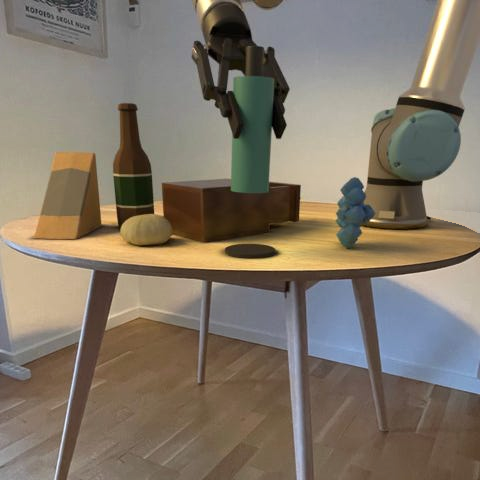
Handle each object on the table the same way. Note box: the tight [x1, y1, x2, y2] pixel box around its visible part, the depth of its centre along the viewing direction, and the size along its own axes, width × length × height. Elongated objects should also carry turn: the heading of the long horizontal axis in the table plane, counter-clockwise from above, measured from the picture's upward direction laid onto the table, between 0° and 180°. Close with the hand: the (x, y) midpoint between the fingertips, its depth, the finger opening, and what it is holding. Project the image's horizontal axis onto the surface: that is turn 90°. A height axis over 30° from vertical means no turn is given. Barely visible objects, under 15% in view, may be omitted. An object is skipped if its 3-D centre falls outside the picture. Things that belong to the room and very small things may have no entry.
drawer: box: [269, 181, 302, 225], centre depth 101 cm, size 20×12×8 cm, turn 131°
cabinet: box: [161, 178, 270, 243], centre depth 94 cm, size 17×14×10 cm
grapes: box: [335, 176, 375, 249], centre depth 79 cm, size 12×7×12 cm, turn 178°
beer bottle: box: [112, 102, 155, 229], centre depth 95 cm, size 8×8×24 cm
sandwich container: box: [33, 151, 102, 240], centre depth 92 cm, size 9×15×15 cm, turn 177°
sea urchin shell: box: [119, 213, 173, 246], centre depth 85 cm, size 9×8×8 cm
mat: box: [224, 243, 276, 259], centre depth 78 cm, size 8×8×1 cm
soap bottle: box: [230, 45, 274, 193], centre depth 71 cm, size 6×6×20 cm
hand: (260, 131), depth 68 cm, fingers closed on soap bottle, 6 cm apart
